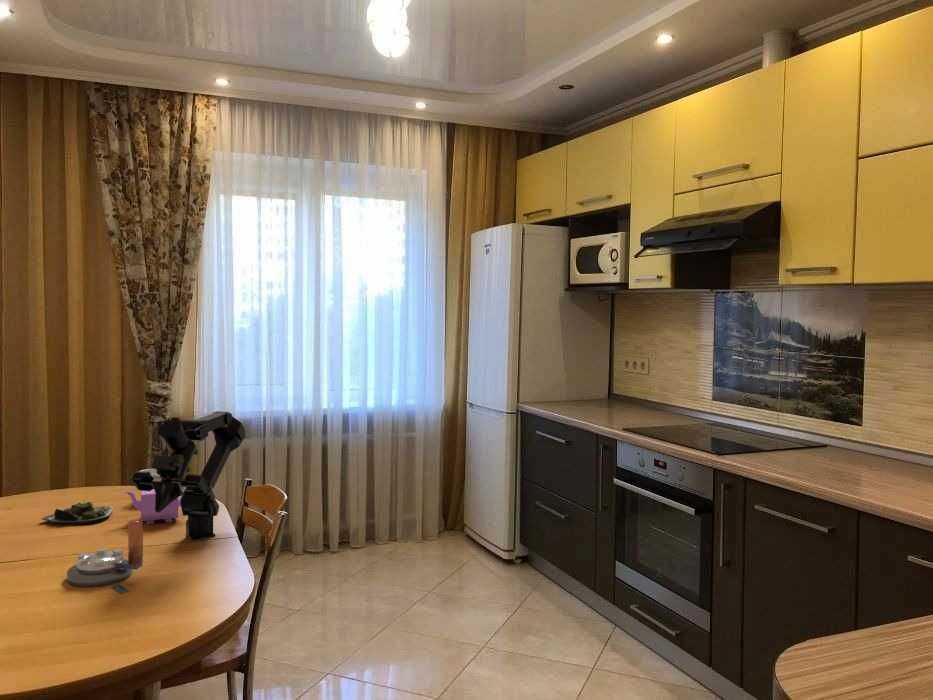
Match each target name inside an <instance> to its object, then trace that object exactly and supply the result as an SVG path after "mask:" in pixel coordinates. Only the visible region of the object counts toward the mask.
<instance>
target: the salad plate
mask: <svg viewBox="0 0 933 700" xmlns="http://www.w3.org/2000/svg"><path fill="white" fill-rule="evenodd" d="M113 510H114V508H113V507H112V506H109V505H100V506H99V505H97V506H95V505H94V504H93V502H90V501H88V502H86V501H83V502H78V503H75V504H71V505H70V507H66V508H60V509H59V508H56V509H55V510H54V513H53V514H50V515H46V516H44V517H41V520H42V521H45V522H48V523H50V524H51V525H53V526H65V525H69V526H86V525H93V524H98V523H102V522H104V521H106V520H107V519H108V518H109V517H110V516H111V514H112V513H113Z"/></svg>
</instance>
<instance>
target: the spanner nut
mask: <svg viewBox="0 0 933 700" xmlns="http://www.w3.org/2000/svg"><path fill="white" fill-rule="evenodd" d="M127 524H128V527H127V534H128V535H127V536H128V537H127V541H128V542H127V543H128V544H127V549H128V550H127V553H128V554H127V557H128V558H127V560H123V559H124V551H123V550H122V549H120V548H118V549H114V550H112V551H107V550H106V549H107V548H105V547H104V548H97V550H96V552H93V553H89V552H81V553H80V554H78V555H77V559H76V564H77V571H78V572H79V573H82V574H102V573H107V572H111V571H114V570H117V569H119V568H122V569H132V570H136V571H137V570H138V569H140V568H141V567H143V563H144V521H143V520H141V518H140V519H139V518H135V519H131V520H129V521H128V523H127Z"/></svg>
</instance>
